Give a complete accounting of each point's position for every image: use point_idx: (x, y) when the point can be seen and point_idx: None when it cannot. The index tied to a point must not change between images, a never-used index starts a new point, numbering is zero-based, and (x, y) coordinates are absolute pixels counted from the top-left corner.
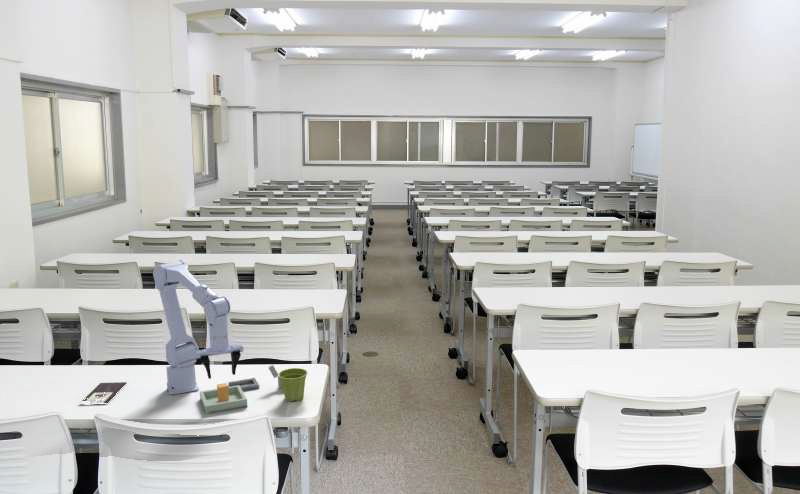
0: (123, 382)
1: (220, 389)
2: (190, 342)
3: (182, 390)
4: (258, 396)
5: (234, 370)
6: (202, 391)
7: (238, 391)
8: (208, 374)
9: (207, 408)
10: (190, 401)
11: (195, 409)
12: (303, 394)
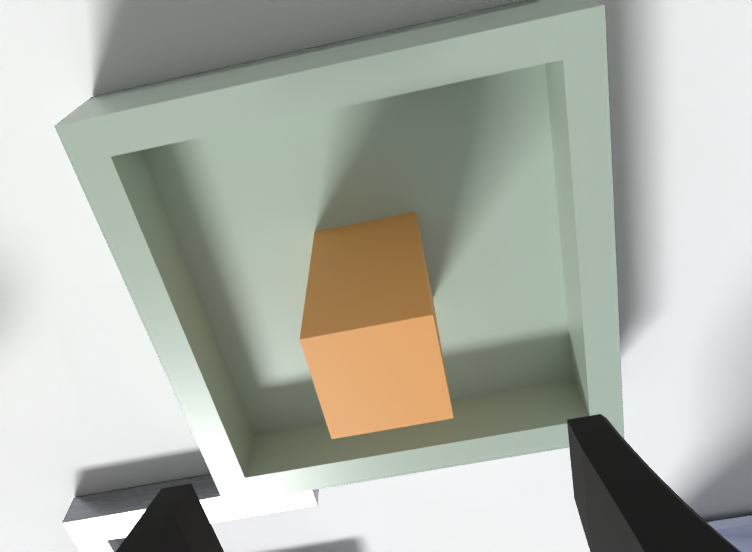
0: None
1: (403, 301)
2: None
3: (741, 540)
4: (33, 337)
5: (135, 543)
6: None
7: (226, 404)
8: (638, 462)
9: (566, 4)
10: (693, 355)
11: (672, 159)
12: None
